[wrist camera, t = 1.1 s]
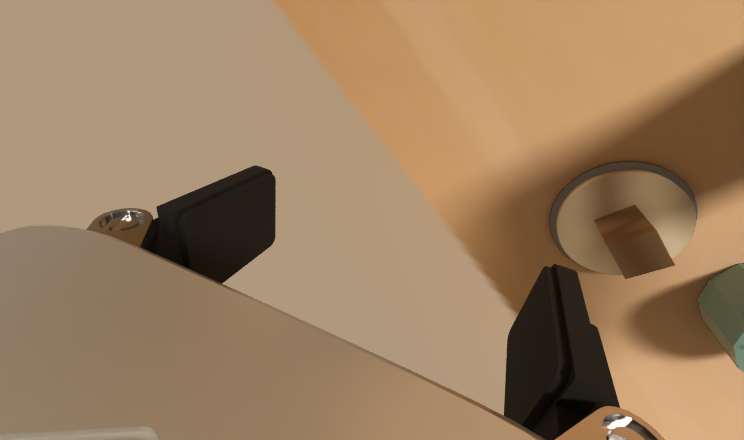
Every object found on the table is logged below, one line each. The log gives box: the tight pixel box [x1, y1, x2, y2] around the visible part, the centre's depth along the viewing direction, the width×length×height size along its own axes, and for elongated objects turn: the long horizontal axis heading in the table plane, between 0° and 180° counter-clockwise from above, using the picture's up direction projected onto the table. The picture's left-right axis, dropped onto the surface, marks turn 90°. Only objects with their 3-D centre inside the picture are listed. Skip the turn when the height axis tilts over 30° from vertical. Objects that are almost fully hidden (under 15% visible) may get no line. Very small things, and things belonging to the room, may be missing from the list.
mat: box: [550, 162, 697, 263], centre depth 30 cm, size 11×11×1 cm
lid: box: [556, 169, 696, 279], centre depth 27 cm, size 10×10×6 cm
